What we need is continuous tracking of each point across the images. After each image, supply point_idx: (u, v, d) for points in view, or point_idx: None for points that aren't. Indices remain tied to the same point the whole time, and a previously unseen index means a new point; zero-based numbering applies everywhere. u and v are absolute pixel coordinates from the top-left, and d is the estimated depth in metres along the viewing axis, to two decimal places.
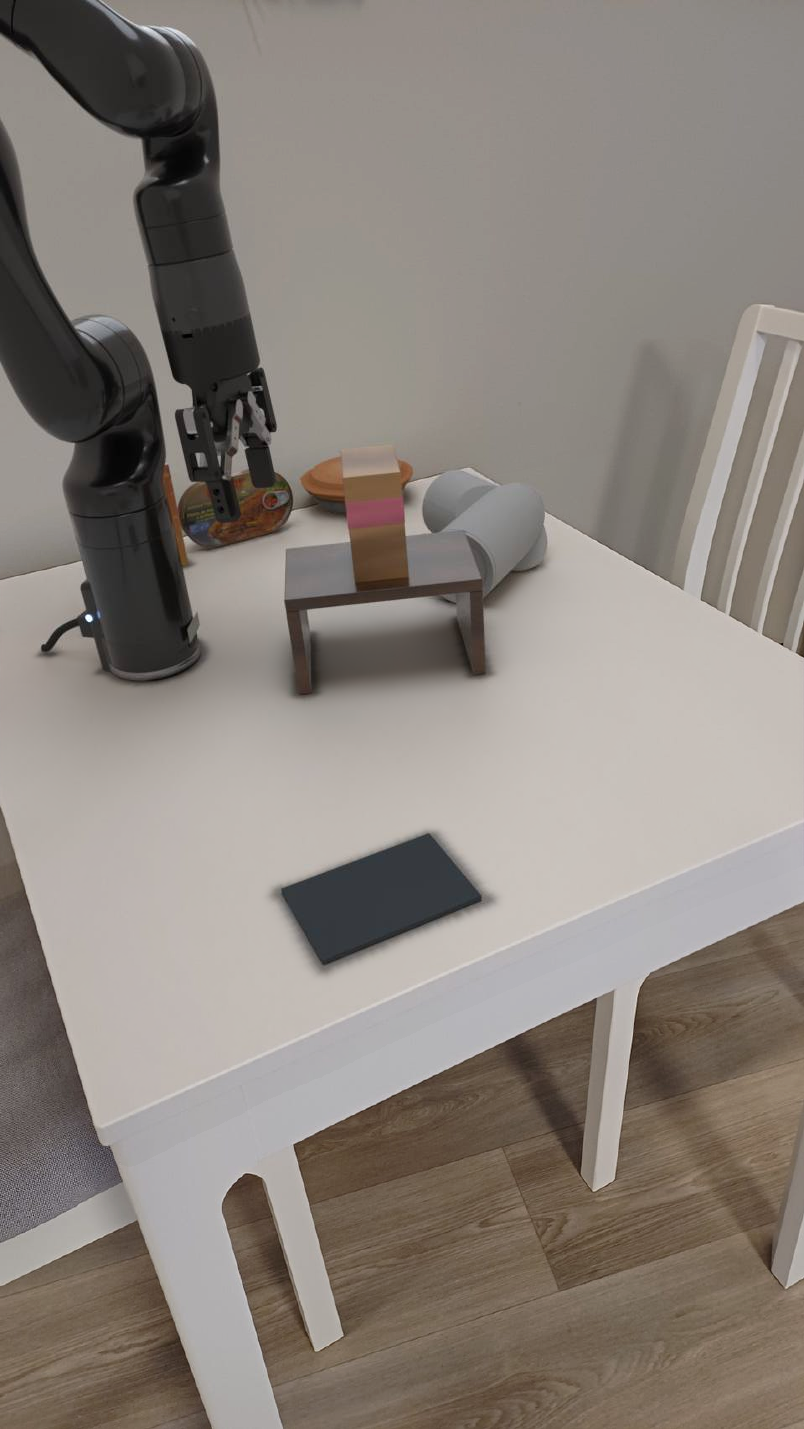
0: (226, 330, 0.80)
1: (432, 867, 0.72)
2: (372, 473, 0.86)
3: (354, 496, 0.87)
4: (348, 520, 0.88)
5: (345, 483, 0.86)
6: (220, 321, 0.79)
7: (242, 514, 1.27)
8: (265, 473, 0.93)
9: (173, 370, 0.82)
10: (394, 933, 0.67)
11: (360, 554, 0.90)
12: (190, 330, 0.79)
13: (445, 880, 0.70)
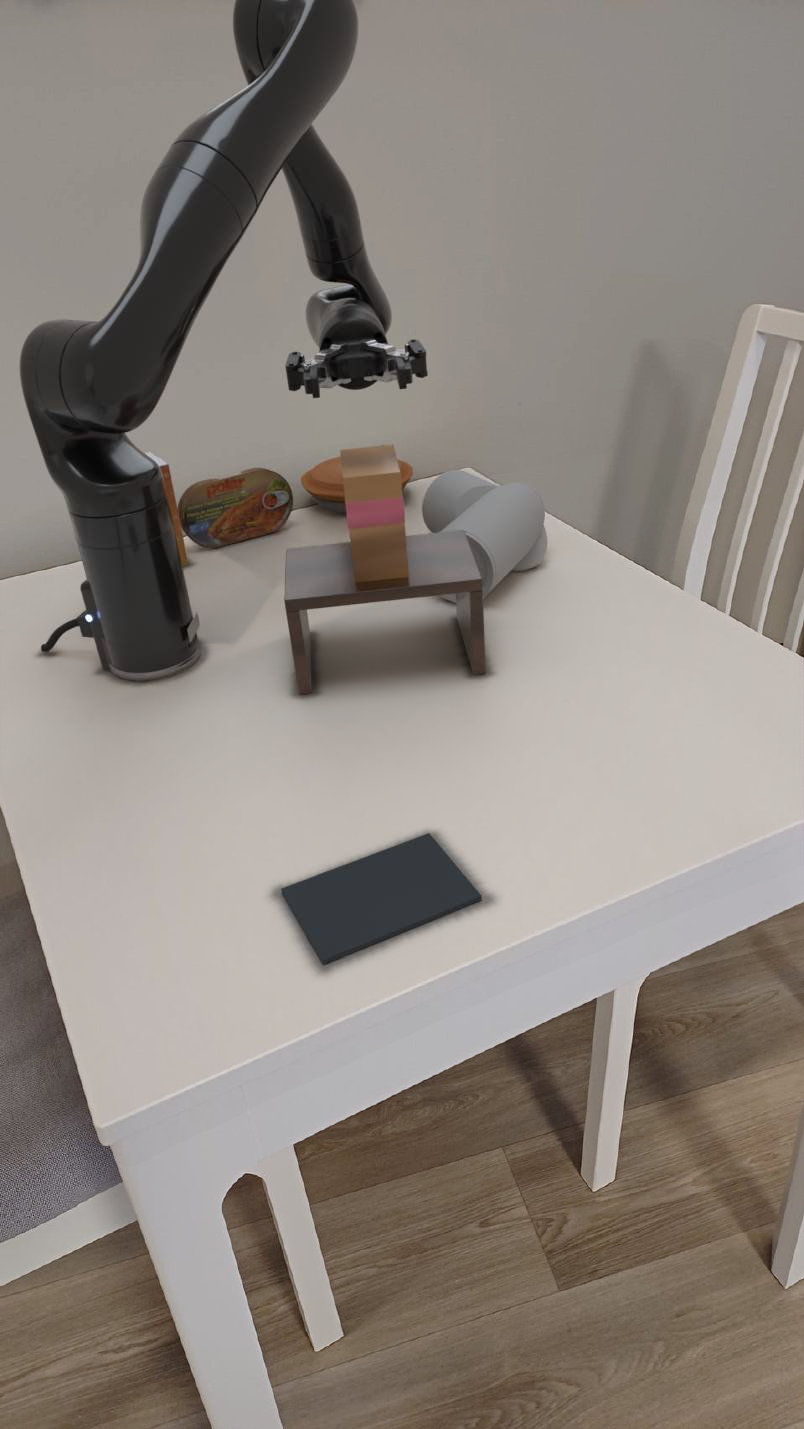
0: None
1: (432, 867, 0.72)
2: (372, 473, 0.86)
3: (354, 496, 0.87)
4: (348, 520, 0.88)
5: (345, 483, 0.86)
6: None
7: (242, 514, 1.27)
8: None
9: (377, 325, 1.05)
10: (394, 933, 0.67)
11: (360, 554, 0.90)
12: None
13: (445, 880, 0.70)
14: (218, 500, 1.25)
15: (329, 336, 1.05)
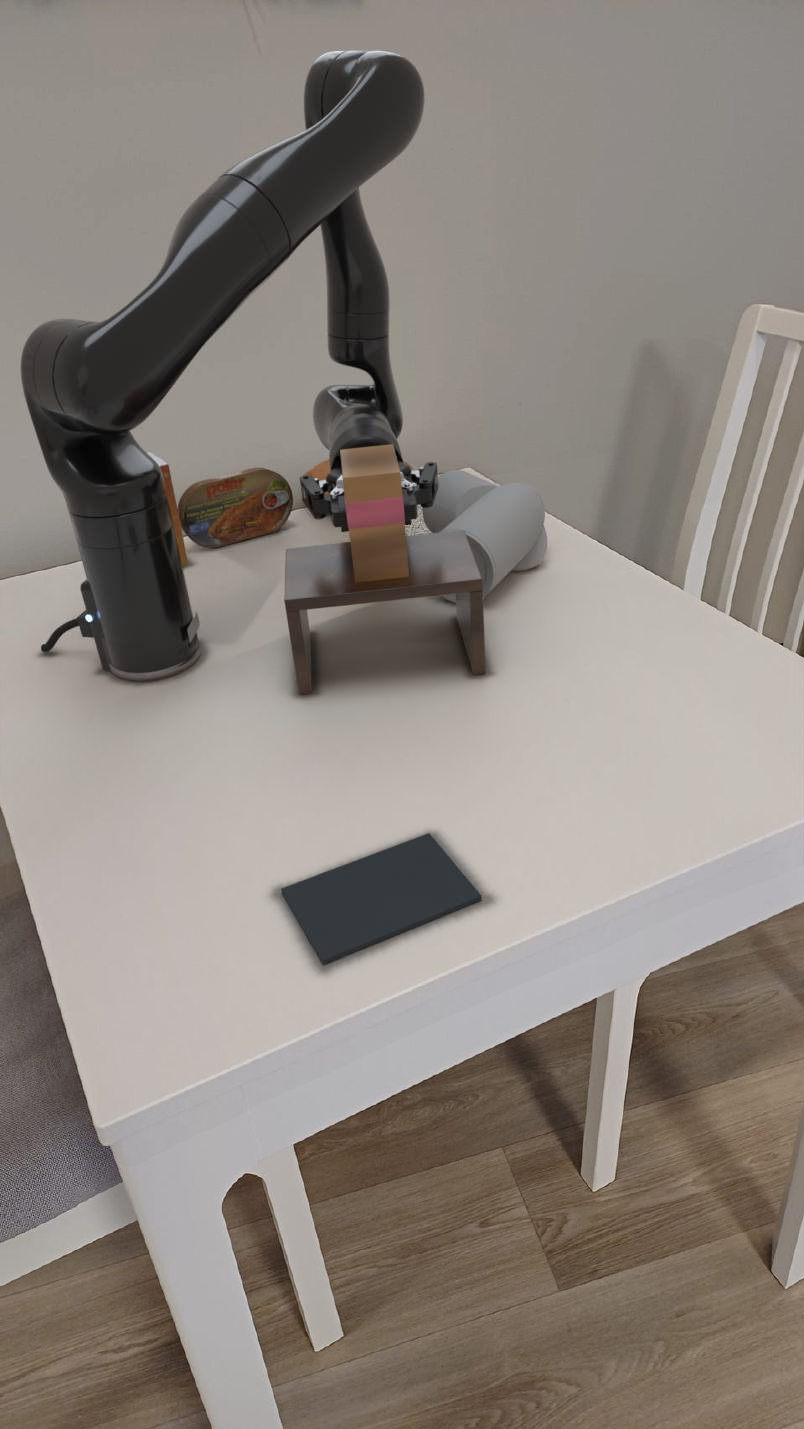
0: None
1: (432, 867, 0.72)
2: (371, 473, 0.86)
3: (354, 496, 0.87)
4: (348, 520, 0.88)
5: (345, 483, 0.86)
6: None
7: (242, 514, 1.27)
8: None
9: (392, 442, 0.99)
10: (394, 933, 0.67)
11: (360, 554, 0.90)
12: None
13: (445, 880, 0.70)
14: (218, 500, 1.25)
15: None
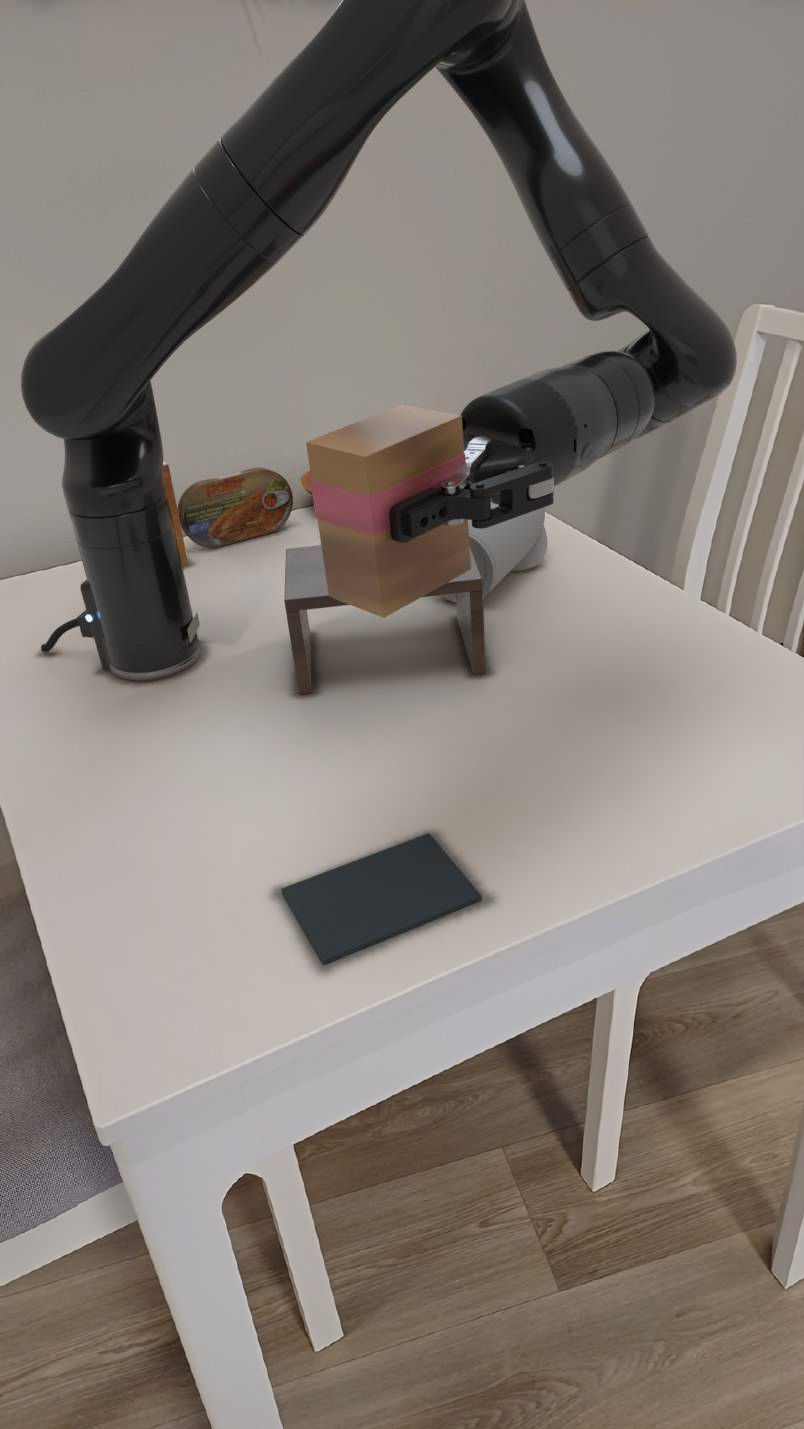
0: (558, 483, 0.68)
1: (432, 867, 0.72)
2: (340, 447, 0.56)
3: (319, 474, 0.58)
4: (315, 506, 0.59)
5: (308, 451, 0.57)
6: (567, 477, 0.68)
7: (242, 514, 1.27)
8: None
9: (537, 416, 0.63)
10: (394, 933, 0.67)
11: (331, 560, 0.61)
12: (578, 449, 0.66)
13: (445, 880, 0.70)
14: (218, 500, 1.25)
15: (464, 415, 0.66)
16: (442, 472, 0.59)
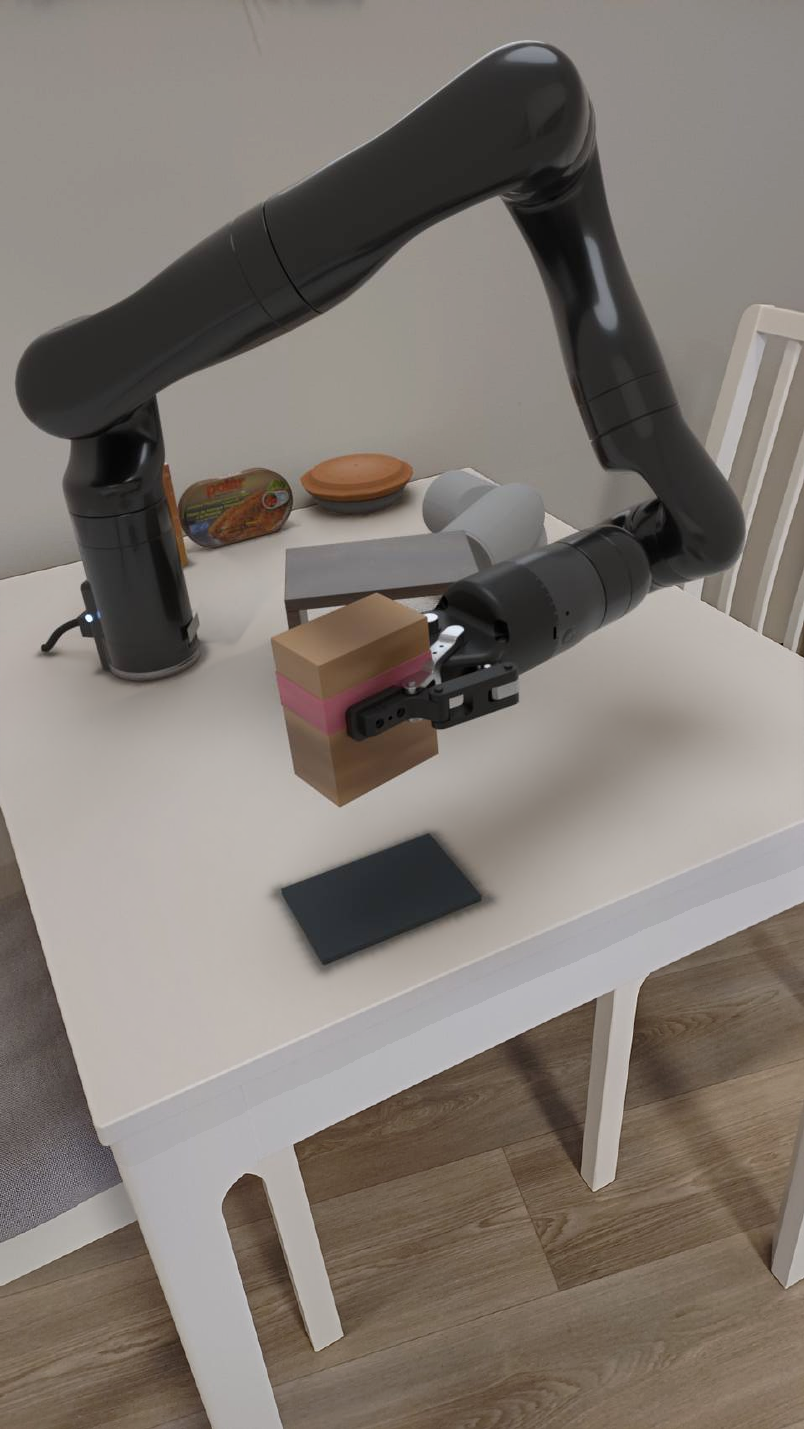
0: (539, 664, 0.68)
1: (432, 867, 0.72)
2: (299, 649, 0.57)
3: (281, 668, 0.59)
4: (279, 694, 0.61)
5: (272, 646, 0.59)
6: (550, 658, 0.68)
7: (242, 514, 1.27)
8: None
9: (513, 608, 0.63)
10: (394, 933, 0.67)
11: (295, 744, 0.62)
12: (558, 636, 0.66)
13: (445, 880, 0.70)
14: (218, 500, 1.25)
15: (446, 595, 0.66)
16: (405, 670, 0.59)
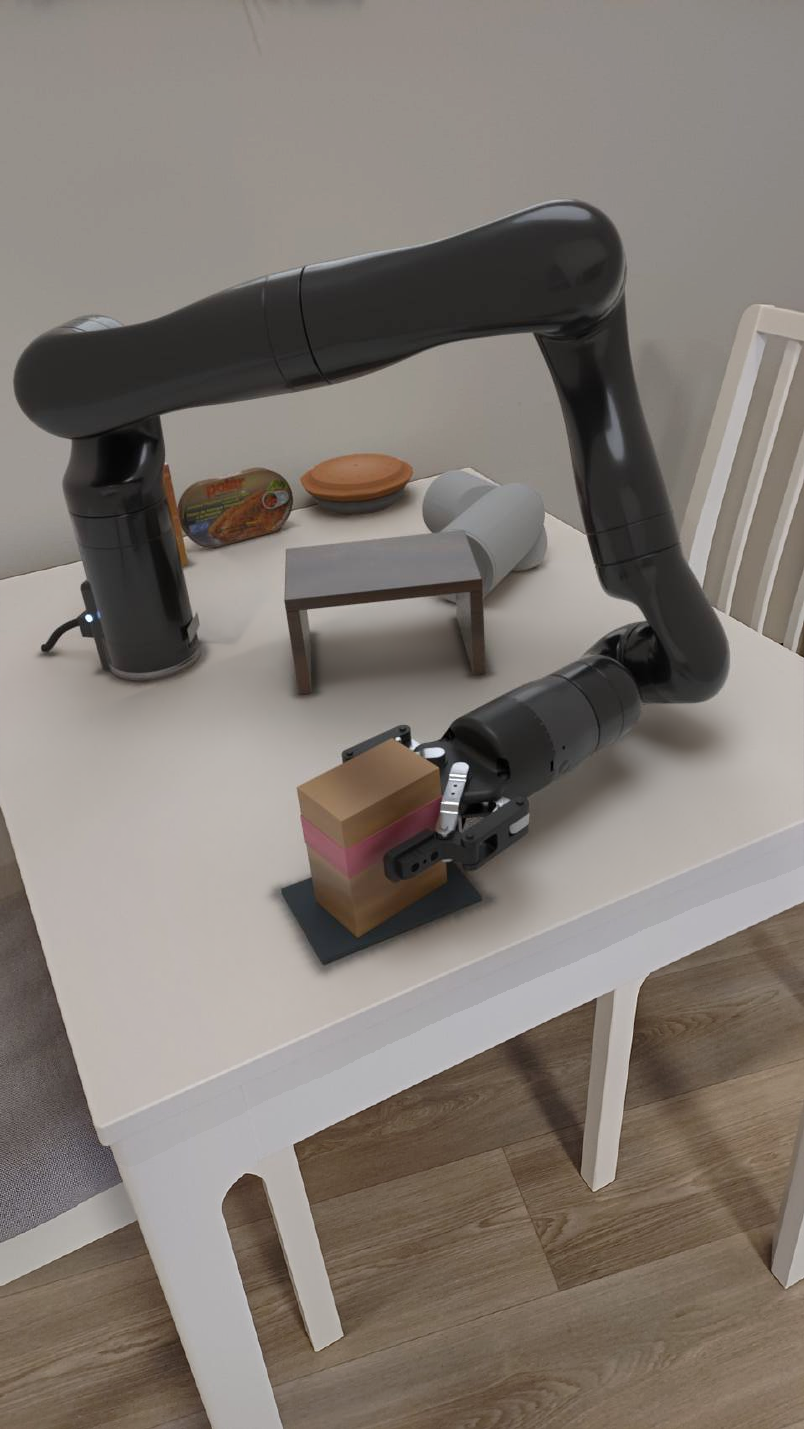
0: None
1: None
2: (323, 801, 0.63)
3: (306, 813, 0.65)
4: (303, 834, 0.66)
5: (298, 794, 0.65)
6: None
7: (242, 514, 1.27)
8: None
9: (514, 746, 0.69)
10: (394, 933, 0.67)
11: (317, 877, 0.68)
12: (555, 768, 0.71)
13: None
14: (218, 500, 1.25)
15: (452, 728, 0.72)
16: (418, 815, 0.65)
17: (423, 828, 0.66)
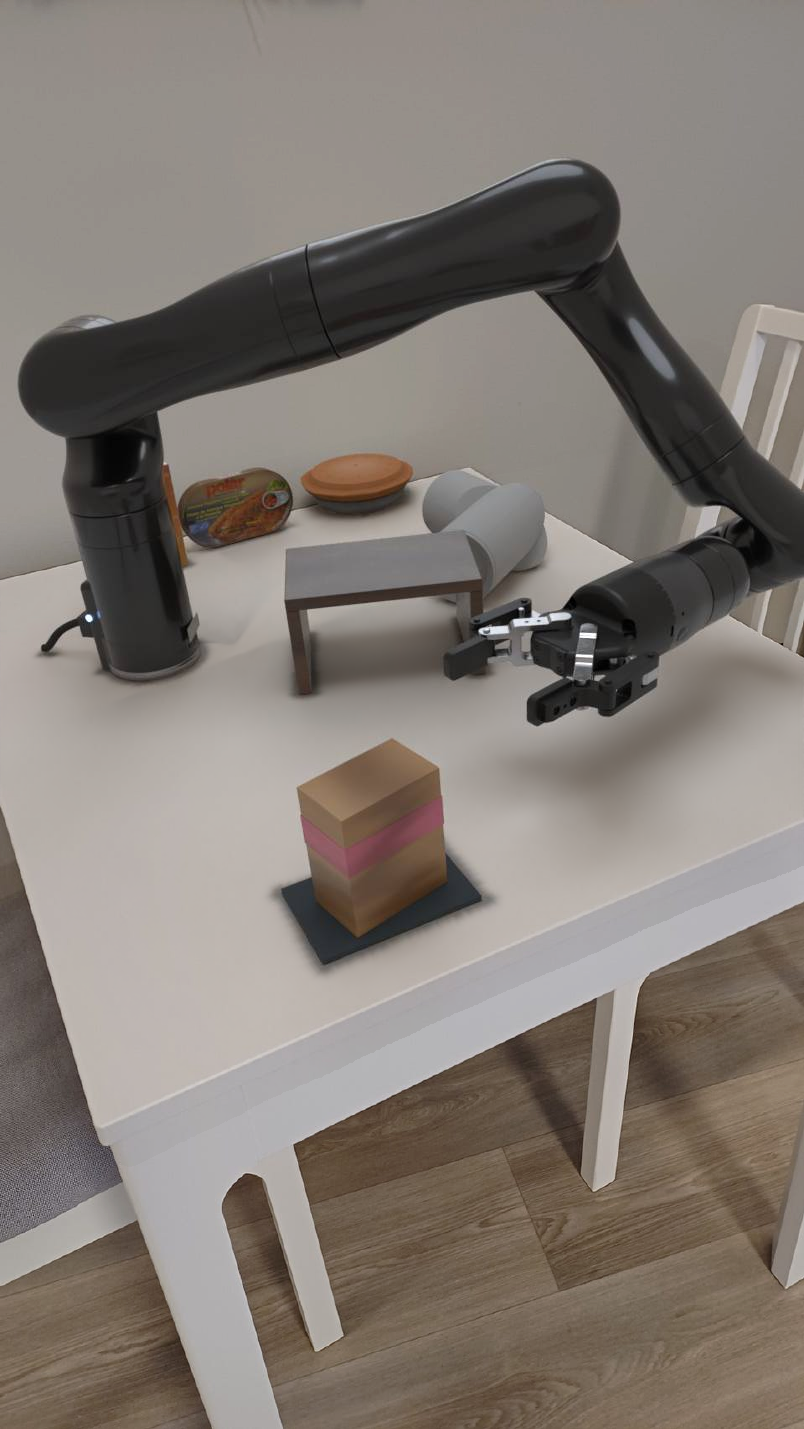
0: None
1: None
2: (323, 801, 0.63)
3: (306, 813, 0.65)
4: (303, 834, 0.66)
5: (298, 794, 0.65)
6: (663, 653, 0.77)
7: (242, 514, 1.27)
8: (464, 668, 0.73)
9: (639, 608, 0.72)
10: (394, 933, 0.67)
11: (317, 877, 0.68)
12: (675, 633, 0.75)
13: None
14: (218, 499, 1.25)
15: (575, 597, 0.75)
16: (418, 815, 0.65)
17: (423, 828, 0.66)
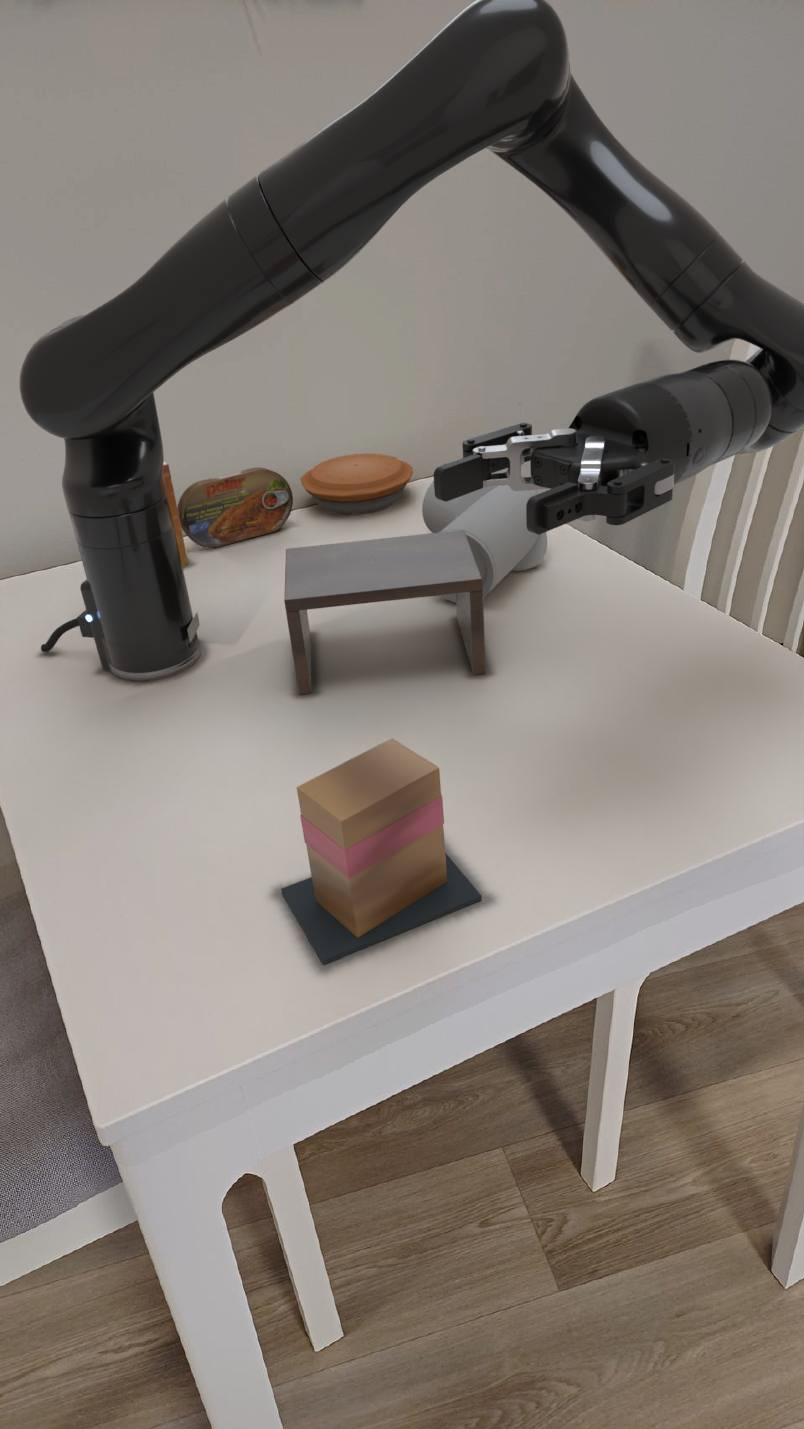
0: None
1: None
2: (323, 801, 0.63)
3: (306, 813, 0.65)
4: (303, 834, 0.66)
5: (298, 794, 0.65)
6: (678, 481, 0.69)
7: (242, 514, 1.27)
8: (457, 488, 0.65)
9: (652, 419, 0.65)
10: (394, 933, 0.67)
11: (317, 877, 0.68)
12: (691, 453, 0.67)
13: None
14: (218, 499, 1.25)
15: (580, 415, 0.68)
16: (418, 815, 0.65)
17: (423, 828, 0.66)
